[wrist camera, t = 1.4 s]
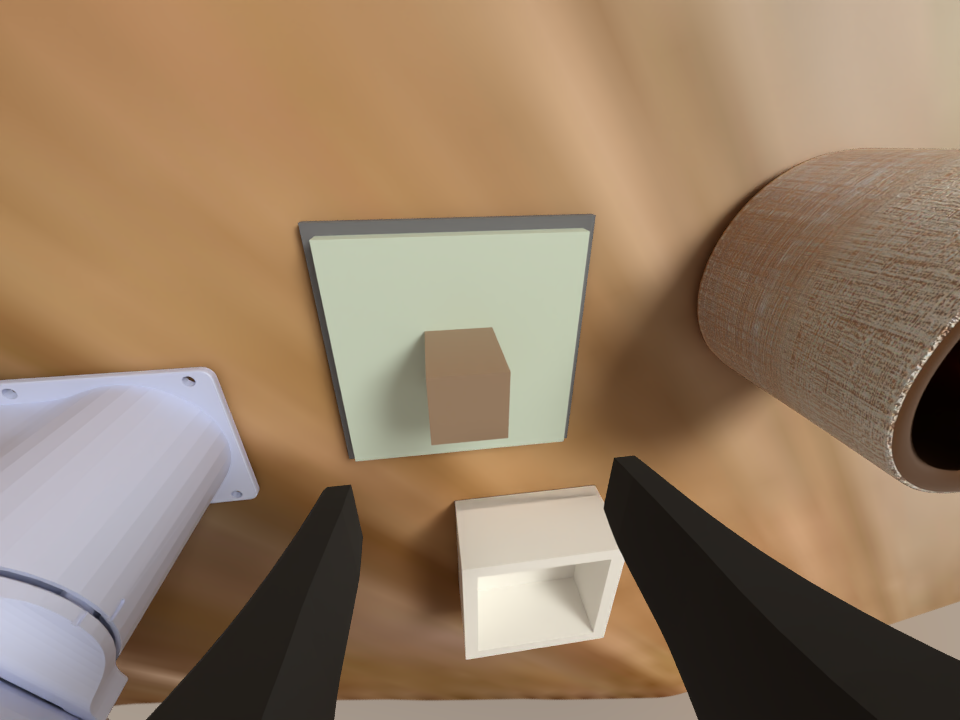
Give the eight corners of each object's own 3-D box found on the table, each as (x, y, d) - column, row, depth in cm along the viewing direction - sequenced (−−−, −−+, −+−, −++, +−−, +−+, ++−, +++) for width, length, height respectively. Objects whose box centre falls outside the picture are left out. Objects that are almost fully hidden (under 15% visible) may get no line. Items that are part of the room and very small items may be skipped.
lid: (357, 451, 20) (341, 527, 16) (314, 236, 15) (274, 268, 11) (559, 431, 22) (592, 498, 18) (582, 228, 16) (637, 254, 12)
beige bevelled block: (459, 588, 28) (465, 659, 24) (454, 500, 24) (462, 570, 20) (578, 572, 29) (603, 637, 25) (594, 485, 25) (627, 548, 21)
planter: (880, 323, 22) (1167, 430, 13) (696, 392, 22) (861, 536, 14) (922, 107, 17) (1438, 62, 8) (679, 205, 17) (929, 256, 9)
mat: (350, 453, 21) (349, 459, 21) (300, 221, 15) (298, 223, 15) (564, 433, 22) (566, 438, 22) (591, 214, 17) (595, 215, 16)
